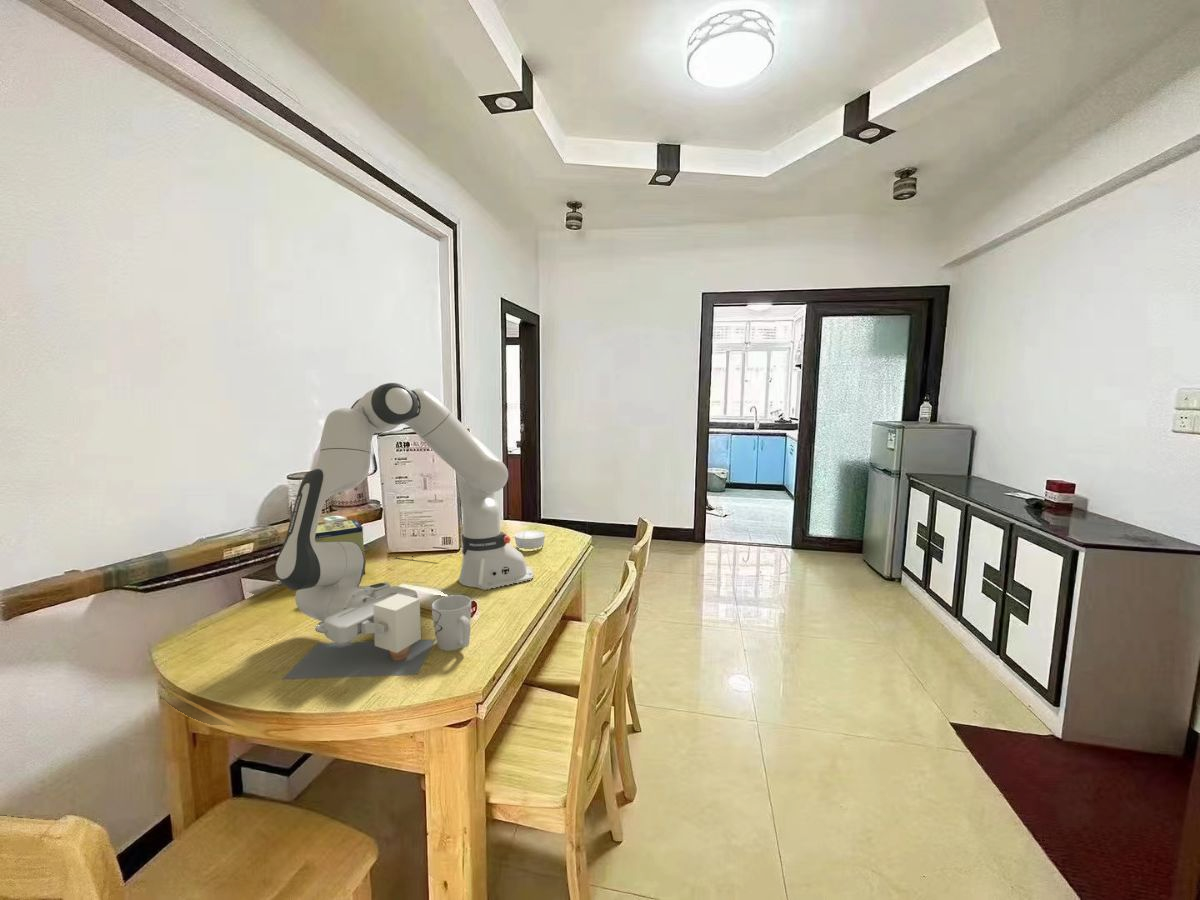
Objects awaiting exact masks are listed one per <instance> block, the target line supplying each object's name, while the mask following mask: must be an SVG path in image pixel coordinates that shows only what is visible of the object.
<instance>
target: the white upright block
mask: <svg viewBox="0 0 1200 900" xmlns="http://www.w3.org/2000/svg"><path fill="white" fill-rule="evenodd" d="M373 614H374V623H380V622H384V623H387V624H388V627H387V628H388V631H386V632H384V633H383V634H379V633H373V635H374V641H375V646H377V647H380V648H383V649H386V650H389V651H392V652H396V653H398V652H400V651H401V650H403V649H405V648H406V647H408V646H410V645H411V644H413V643H415V642H417V641H418V640H422V637H421V635H422V632H421V630H422V629H421V603H420V598H419V597H418V598H414V597H410V596H406V595H402V594H396V595H394V596H391V597H389V598H387V599H385V600H383V601H380V602H378V603H376V604H374V605H373Z"/></svg>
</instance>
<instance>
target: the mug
mask: <svg viewBox="0 0 1200 900" xmlns="http://www.w3.org/2000/svg"><path fill="white" fill-rule="evenodd" d="M431 613H432V615H431V616H432V624H433V629H434V635H435V639H436V643H437V647H438V648H439V649H440V650H443V651H445V652H446V651H447V652H448V651H450V652H451V651H456V650H457V651H458V650H461V649H464V648H467V647H469V645H470V638H471V637H470V636H471V618H472V600H471V598H470V597H469V596H466V595H463V594H453V595H452V594H451V595H445V596H442V597H439V598H437V599H436V600H434V601H433V602H432V604H431Z"/></svg>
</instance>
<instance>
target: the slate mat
mask: <svg viewBox="0 0 1200 900" xmlns="http://www.w3.org/2000/svg"><path fill="white" fill-rule="evenodd" d="M436 641H437V639H436V638H435V639H434V638H431V639H428V638H427V639H420V640H418V641H417V642H415V643H413V644H411V645H410V653H409V654H408V657H407V658H405V659H403V660H399V661H396V660H393V659H392V657H390V651H389V650H386V649H383V648H380V647H377V646H375V640H374V641H373V640H371V641H368V640H367V641H365V640H364V641H349V642H348V643H342V644H339V643H336V642H334V641H332V642H317V643H316V644H315V646H313V647H312V648H311V649H310V650H309V652H307V653H306V654H305V655H304V656H303V657H302V658H301V660H299V661H298V662H297V664H295V665H294V666H293V668H291V669H290V670H289V671H288V672H287V674H285V675H284V676H283V677H282V679H281V680H283V681H284V680H304V679H305V680H306V679H333V678H334V679H335V678H337V679H338V678H357V677H358V678H359V677H362V678H363V677H383V676H384V677H386V676H387V677H388V676H389V677H390V676H411V675H412V676H414V675H419V673H420V671H421V668H422V667H423V665H424V663H425V662H426V659H427V657H428V656H429V654H430V652H431V650H432V647H433V646H434V644H435V643H436Z"/></svg>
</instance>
